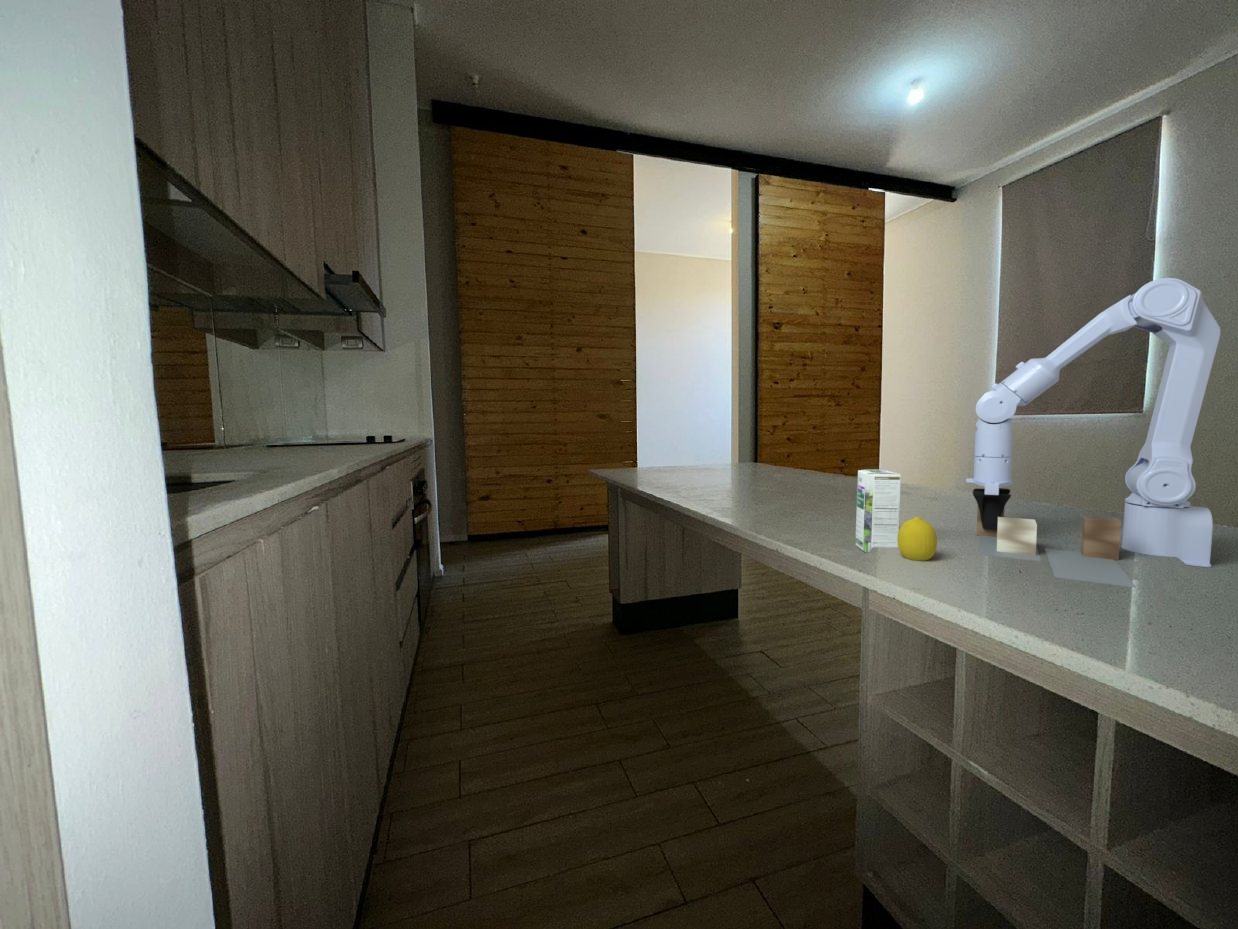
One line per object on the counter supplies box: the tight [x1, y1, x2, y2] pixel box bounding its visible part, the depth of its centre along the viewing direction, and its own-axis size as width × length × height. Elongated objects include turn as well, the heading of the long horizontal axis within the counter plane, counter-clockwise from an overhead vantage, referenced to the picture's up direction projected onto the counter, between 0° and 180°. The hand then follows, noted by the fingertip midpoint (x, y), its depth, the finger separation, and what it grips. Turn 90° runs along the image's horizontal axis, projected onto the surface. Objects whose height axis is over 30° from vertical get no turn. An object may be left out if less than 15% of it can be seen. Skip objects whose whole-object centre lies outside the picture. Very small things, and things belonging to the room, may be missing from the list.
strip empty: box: [1044, 515, 1137, 588], centre depth 74 cm, size 8×18×7 cm, turn 143°
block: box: [997, 516, 1038, 555], centre depth 83 cm, size 5×5×5 cm
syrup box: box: [855, 468, 902, 553], centre depth 90 cm, size 6×6×14 cm
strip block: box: [976, 506, 1042, 562], centre depth 86 cm, size 8×18×7 cm, turn 143°
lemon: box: [897, 516, 938, 562], centre depth 80 cm, size 6×6×8 cm
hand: (990, 527), depth 94 cm, fingers closed on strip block, 3 cm apart
